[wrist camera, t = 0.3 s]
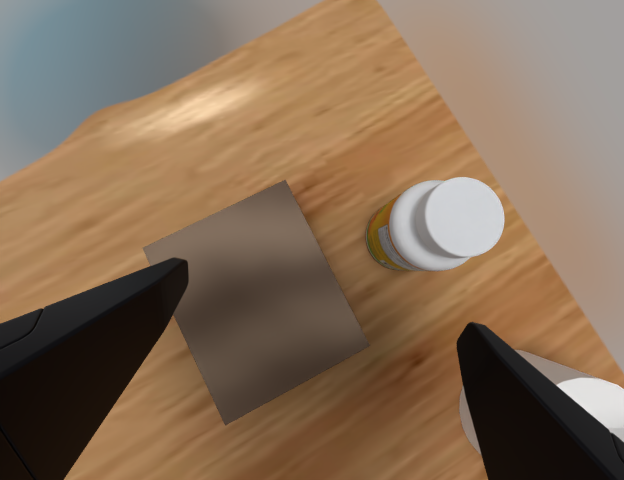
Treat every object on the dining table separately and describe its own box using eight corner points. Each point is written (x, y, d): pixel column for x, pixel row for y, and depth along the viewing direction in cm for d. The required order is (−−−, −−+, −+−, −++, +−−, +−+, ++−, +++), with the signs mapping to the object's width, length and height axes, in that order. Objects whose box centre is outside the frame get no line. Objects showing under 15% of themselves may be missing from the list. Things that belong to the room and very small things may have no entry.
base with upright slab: (560, 345, 23) (835, 426, 11) (576, 463, 22) (891, 684, 11) (453, 353, 23) (623, 446, 11) (465, 474, 22) (664, 718, 10)
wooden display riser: (355, 330, 23) (370, 345, 18) (240, 393, 22) (225, 425, 17) (287, 196, 23) (285, 179, 19) (173, 251, 22) (142, 247, 18)
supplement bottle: (412, 195, 24) (489, 145, 14) (439, 254, 24) (538, 244, 14) (353, 220, 23) (392, 186, 14) (381, 280, 23) (440, 290, 13)
